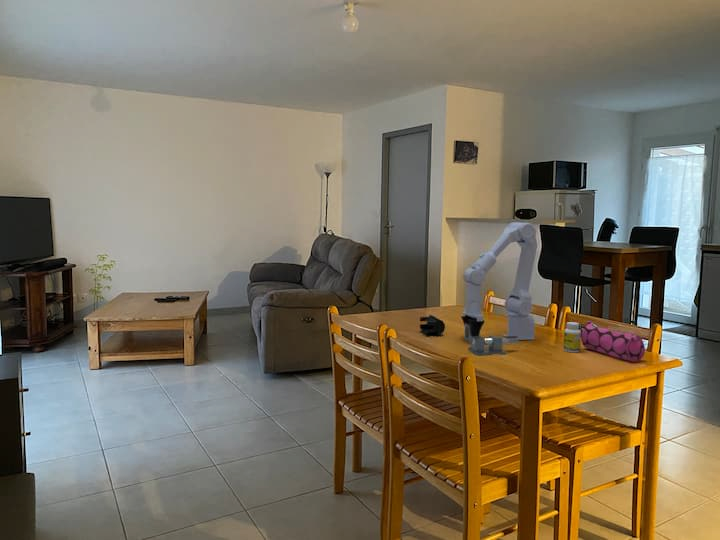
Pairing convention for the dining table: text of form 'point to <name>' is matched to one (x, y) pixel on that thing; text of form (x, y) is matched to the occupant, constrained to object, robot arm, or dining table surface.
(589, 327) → the pencil case
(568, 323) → the supplement bottle
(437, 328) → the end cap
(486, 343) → the shaft stand
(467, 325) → the collar
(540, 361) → the dining table surface
